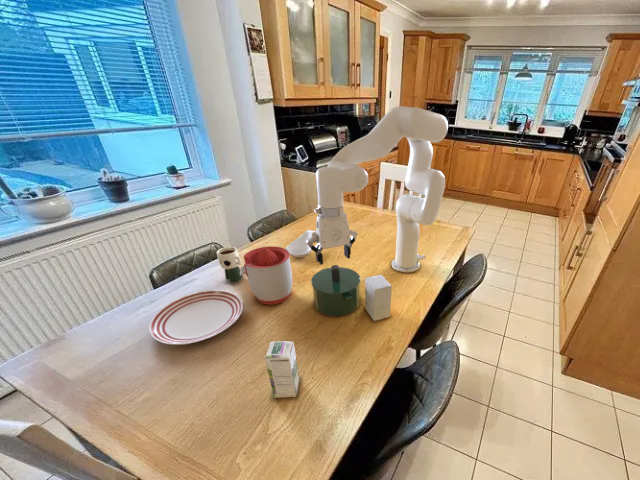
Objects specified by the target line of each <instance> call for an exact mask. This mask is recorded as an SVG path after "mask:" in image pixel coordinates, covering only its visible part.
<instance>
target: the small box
mask: <svg viewBox="0 0 640 480" xmlns="http://www.w3.org/2000/svg"><path fill="white" fill-rule="evenodd" d="M364 280H365V282H364V284H365V285H364V286H365V287H364V293H365V294H364V302H365V303H364V308H365V310H366V312H367V313H368V314H369V316H370V317H371V319H372V320H373V322H376V321H380V320H384V319H387V318H389V317H391V308H392V307H391V306H392V290H393V289H392V287H393V285H391V283H390V282H389V281H388V280H387V279H386V278H385V277H384V275H382V274H378V275H373V276H369V277H365V279H364Z"/></svg>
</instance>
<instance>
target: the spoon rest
mask: <svg viewBox="0 0 640 480" xmlns="http://www.w3.org/2000/svg"><path fill="white" fill-rule="evenodd" d="M314 235H316V230H311V229H307V230H305V231H304V232H303V233H302V234H301V235H299V236H298V237H297V238H295V239H294V240H293V241H292V242H290V243H289V244H288V245H287V246H286V248H285V249H286V250H287V251H288V252H289V253H290V256H291V257H294V258H304V257H306V256H309V254H310V253H311V252H312V251H313V250H312V249H311V248H310V247H309V246H308V244H307V243H306V241H307V240H309V239H310V238H311V237H313V236H314Z"/></svg>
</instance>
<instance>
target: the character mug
mask: <svg viewBox="0 0 640 480" xmlns="http://www.w3.org/2000/svg"><path fill="white" fill-rule="evenodd" d="M216 256H217V259H218V262H219V266H220V267H221V268H222V269H224V277H225V282H227V283H228V282H229V283H237V282H239V281H240V280H242V279H243V277H244V276H243V275H240V270H241V267H239V266H240V265H242V260H241V257H240V256H239V252H238V248H237V247H235V246H225V247H222V248H219V249H218V250H217V251H216Z"/></svg>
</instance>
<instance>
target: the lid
mask: <svg viewBox="0 0 640 480" xmlns="http://www.w3.org/2000/svg"><path fill="white" fill-rule="evenodd" d="M323 269H324V270H322V269H321V270H319V271H317V272H316V273H314V274H313V276H312V277H311V279H310V284H311V286H312V289H313V288H314V289H315V290H317V291H318V292H321V293H324V294H331V295H337V294H344V293H348V292H350V291H352V290H354V289H356V288H357V287H358V286H359V287H360V285H361V276H360V274H359V273H358V272H357V271H356V270H353V269H351V268H347V267H341V266H339V265H338V264H333V265H331V266H330V267H327V269H326V268H323Z"/></svg>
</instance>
